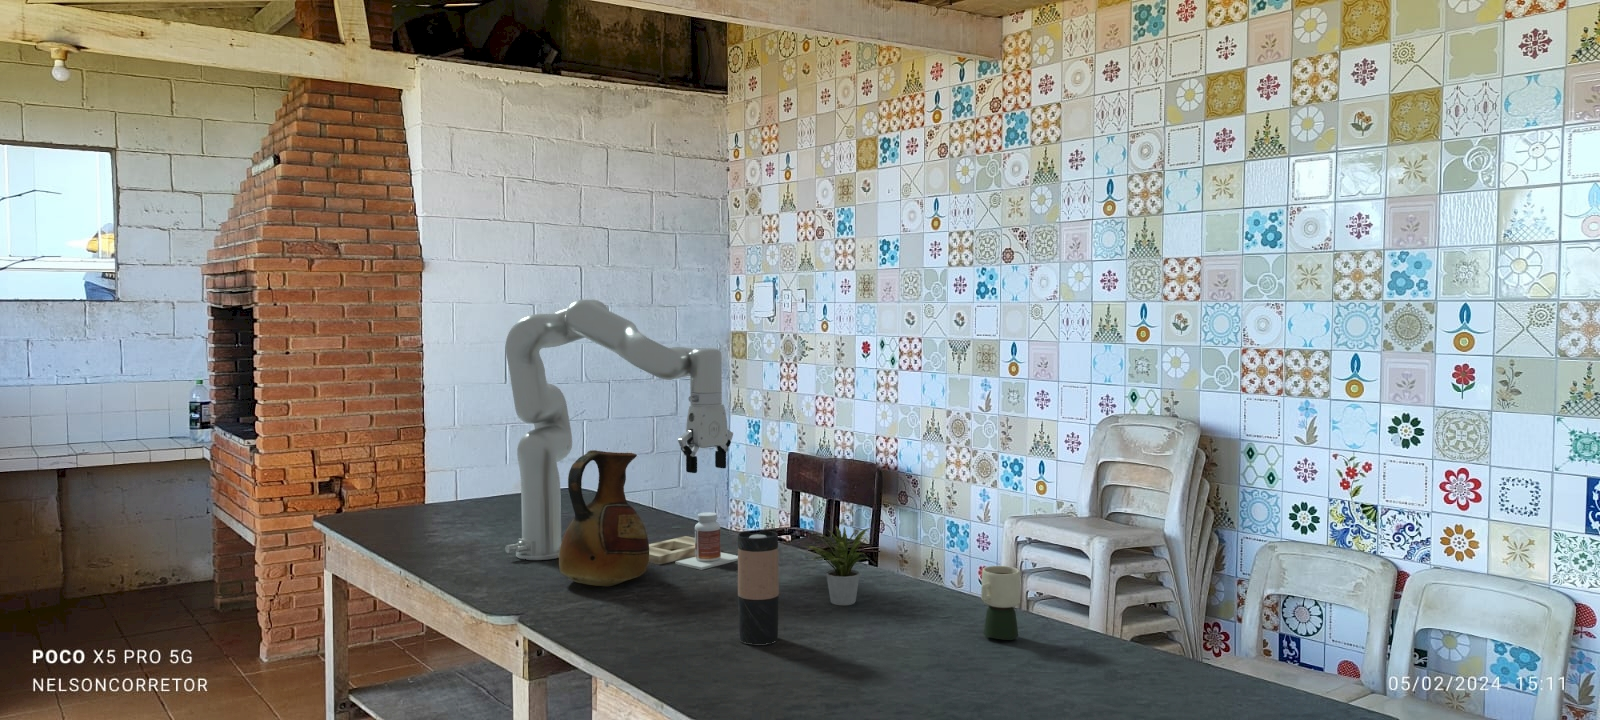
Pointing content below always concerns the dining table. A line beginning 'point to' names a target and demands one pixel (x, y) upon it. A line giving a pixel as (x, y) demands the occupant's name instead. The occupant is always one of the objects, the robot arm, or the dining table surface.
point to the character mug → (1001, 601)
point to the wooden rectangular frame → (662, 553)
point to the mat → (704, 565)
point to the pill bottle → (707, 537)
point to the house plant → (842, 567)
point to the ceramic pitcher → (603, 526)
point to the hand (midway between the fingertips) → (706, 470)
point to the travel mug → (758, 587)
